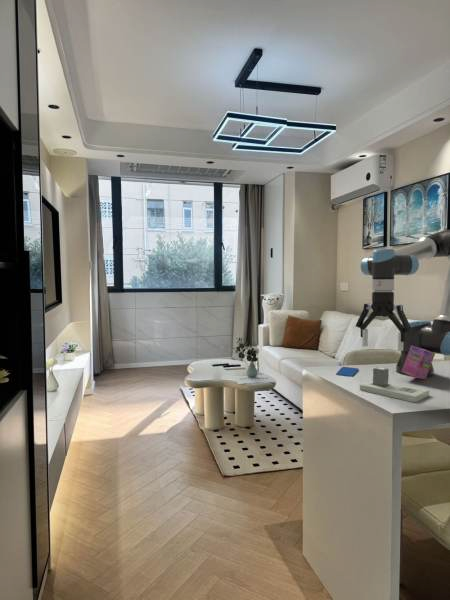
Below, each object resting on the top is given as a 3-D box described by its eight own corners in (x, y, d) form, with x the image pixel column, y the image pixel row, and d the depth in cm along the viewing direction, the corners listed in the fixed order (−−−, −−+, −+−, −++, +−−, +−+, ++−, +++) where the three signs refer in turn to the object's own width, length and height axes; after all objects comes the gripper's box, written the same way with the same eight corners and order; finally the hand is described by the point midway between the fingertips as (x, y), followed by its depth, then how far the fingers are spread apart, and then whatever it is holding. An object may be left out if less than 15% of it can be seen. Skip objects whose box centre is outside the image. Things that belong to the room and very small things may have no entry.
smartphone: (335, 374, 169) (342, 366, 182) (335, 376, 169) (342, 368, 182) (353, 376, 165) (358, 368, 179) (353, 378, 166) (358, 370, 179)
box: (414, 377, 155) (424, 349, 155) (400, 372, 160) (410, 344, 159) (425, 380, 161) (435, 353, 161) (412, 374, 166) (422, 348, 165)
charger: (377, 387, 149) (378, 366, 148) (388, 390, 146) (388, 368, 145) (372, 389, 146) (373, 368, 146) (383, 392, 143) (383, 370, 143)
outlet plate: (375, 384, 154) (375, 378, 154) (429, 395, 139) (429, 389, 139) (359, 389, 146) (359, 384, 146) (415, 402, 131) (415, 396, 131)
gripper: (347, 290, 151) (346, 345, 152) (413, 292, 132) (412, 354, 134) (357, 290, 156) (356, 343, 157) (422, 291, 137) (421, 351, 139)
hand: (382, 348), depth 145 cm, fingers open, 13 cm apart
